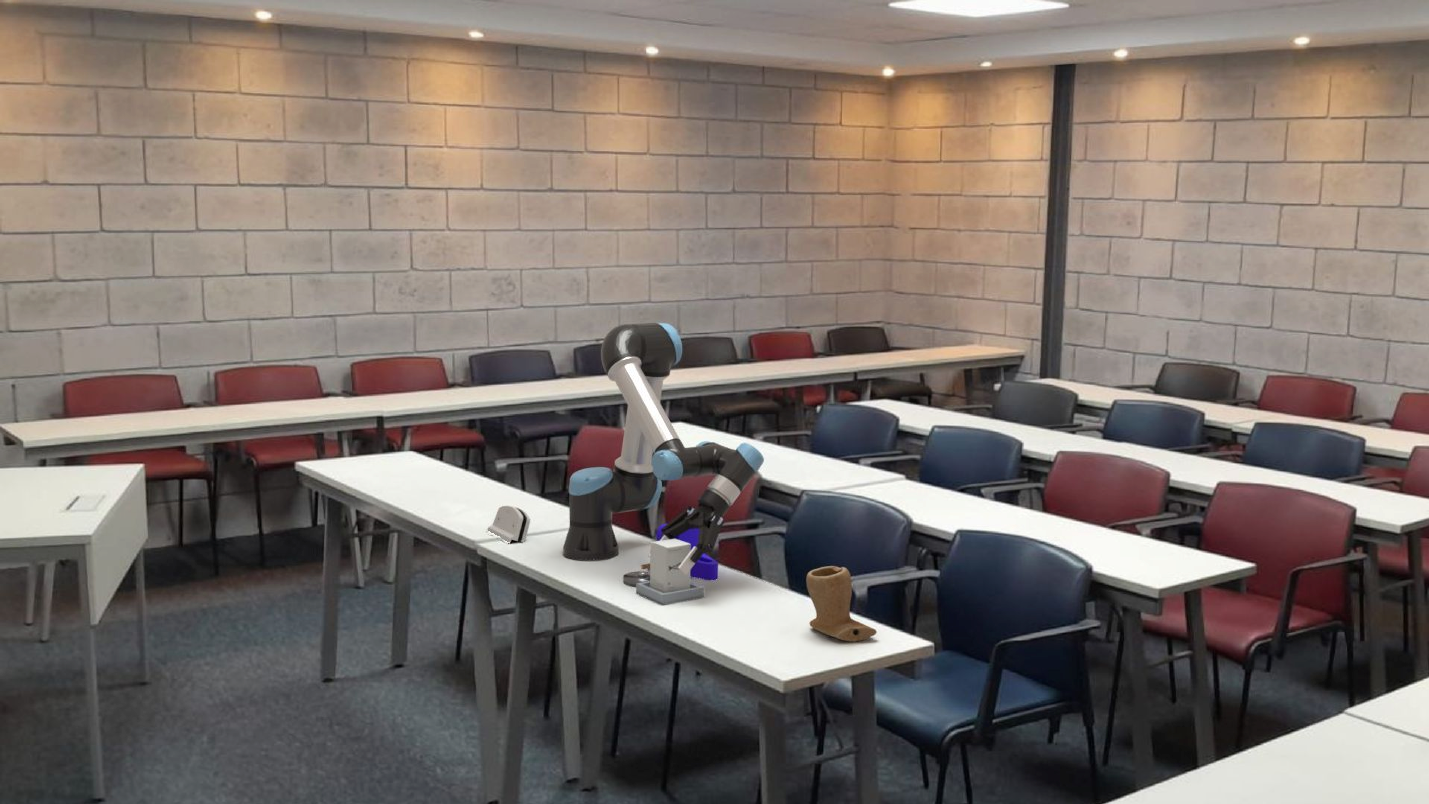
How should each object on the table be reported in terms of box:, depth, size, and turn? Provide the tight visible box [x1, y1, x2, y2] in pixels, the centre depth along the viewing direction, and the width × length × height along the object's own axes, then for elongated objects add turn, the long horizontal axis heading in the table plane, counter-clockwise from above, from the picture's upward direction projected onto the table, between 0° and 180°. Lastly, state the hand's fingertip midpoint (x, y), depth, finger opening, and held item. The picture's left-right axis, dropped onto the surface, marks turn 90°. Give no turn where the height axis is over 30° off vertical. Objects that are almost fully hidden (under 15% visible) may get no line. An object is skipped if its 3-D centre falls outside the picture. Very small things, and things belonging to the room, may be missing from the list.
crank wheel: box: [622, 563, 650, 588], centre depth 326 cm, size 10×10×6 cm
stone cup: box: [806, 565, 878, 643], centre depth 284 cm, size 15×12×15 cm
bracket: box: [656, 523, 719, 581], centre depth 336 cm, size 18×11×12 cm, turn 38°
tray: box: [635, 581, 705, 606], centre depth 315 cm, size 12×12×2 cm
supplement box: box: [649, 539, 691, 593], centre depth 314 cm, size 7×7×13 cm
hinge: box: [486, 505, 531, 543], centre depth 373 cm, size 17×5×10 cm, turn 33°
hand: (666, 565), depth 313 cm, fingers open, 13 cm apart
